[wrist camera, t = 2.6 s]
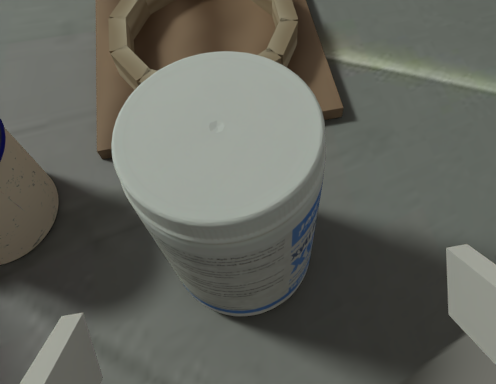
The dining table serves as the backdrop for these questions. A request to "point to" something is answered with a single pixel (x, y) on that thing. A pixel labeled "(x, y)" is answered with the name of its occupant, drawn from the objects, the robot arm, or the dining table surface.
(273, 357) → the dining table surface
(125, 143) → the supplement tub
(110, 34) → the ring holder
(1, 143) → the teacup with lid
